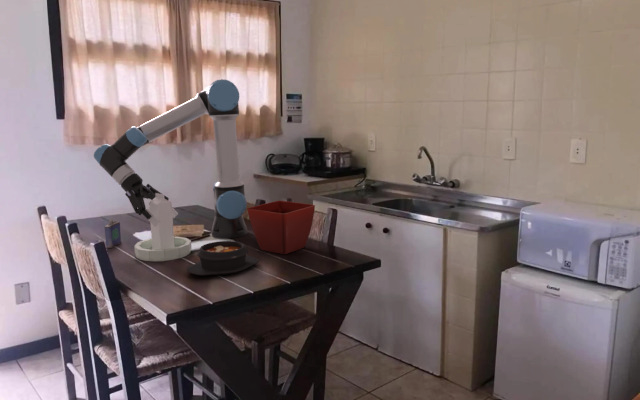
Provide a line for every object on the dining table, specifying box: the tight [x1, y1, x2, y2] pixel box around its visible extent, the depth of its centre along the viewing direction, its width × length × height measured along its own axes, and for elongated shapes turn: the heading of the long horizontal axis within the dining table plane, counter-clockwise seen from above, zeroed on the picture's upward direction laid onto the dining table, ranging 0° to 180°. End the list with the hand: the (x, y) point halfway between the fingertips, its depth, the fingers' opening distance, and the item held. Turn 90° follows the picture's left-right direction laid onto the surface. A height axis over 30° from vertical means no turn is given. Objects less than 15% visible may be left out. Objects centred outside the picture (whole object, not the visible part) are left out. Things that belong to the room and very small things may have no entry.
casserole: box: [186, 240, 260, 277], centre depth 179 cm, size 25×19×8 cm
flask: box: [104, 219, 122, 249], centre depth 211 cm, size 9×3×11 cm, turn 172°
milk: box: [148, 193, 175, 250], centre depth 198 cm, size 6×6×22 cm
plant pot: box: [246, 200, 316, 255], centre depth 203 cm, size 19×19×17 cm
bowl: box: [133, 236, 192, 262], centre depth 200 cm, size 20×20×4 cm
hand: (167, 220), depth 197 cm, fingers open, 13 cm apart
